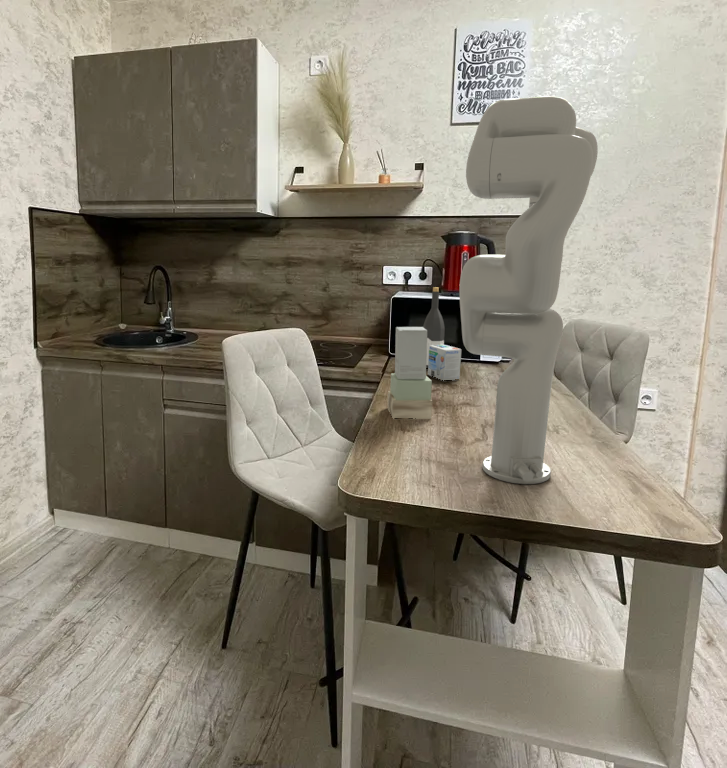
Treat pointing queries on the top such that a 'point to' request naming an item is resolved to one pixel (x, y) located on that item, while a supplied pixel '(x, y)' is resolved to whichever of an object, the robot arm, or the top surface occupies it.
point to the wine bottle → (434, 324)
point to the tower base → (409, 408)
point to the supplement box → (410, 352)
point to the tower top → (410, 388)
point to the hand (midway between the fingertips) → (538, 291)
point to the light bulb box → (444, 362)
